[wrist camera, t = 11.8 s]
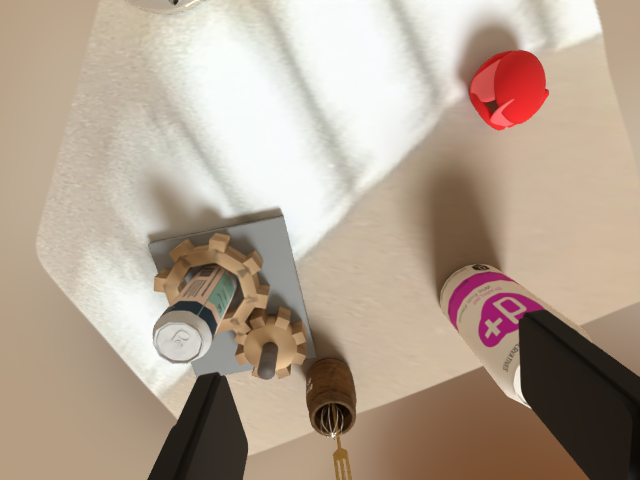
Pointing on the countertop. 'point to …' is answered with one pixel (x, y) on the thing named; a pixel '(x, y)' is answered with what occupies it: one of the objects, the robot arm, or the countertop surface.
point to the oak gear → (229, 259)
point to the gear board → (275, 273)
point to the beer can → (194, 315)
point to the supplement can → (493, 320)
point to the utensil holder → (332, 404)
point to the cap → (509, 88)
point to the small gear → (272, 343)
